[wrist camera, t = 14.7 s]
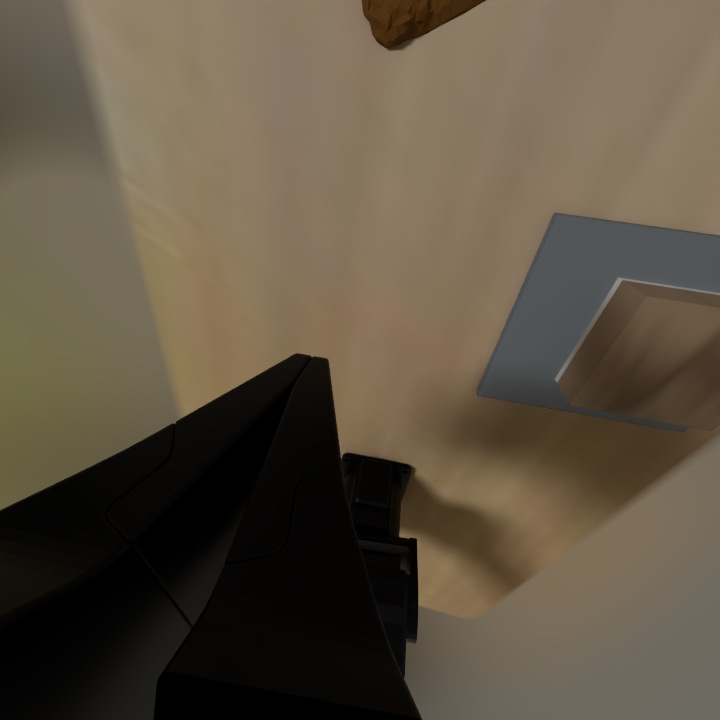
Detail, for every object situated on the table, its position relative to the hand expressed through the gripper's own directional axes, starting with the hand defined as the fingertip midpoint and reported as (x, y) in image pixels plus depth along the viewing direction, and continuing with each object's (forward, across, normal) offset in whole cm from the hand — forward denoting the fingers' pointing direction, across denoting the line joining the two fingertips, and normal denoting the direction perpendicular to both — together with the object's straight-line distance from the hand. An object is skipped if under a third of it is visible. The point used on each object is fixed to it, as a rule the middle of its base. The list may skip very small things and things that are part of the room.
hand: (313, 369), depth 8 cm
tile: (+10, -13, +3) cm, 17 cm away
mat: (+12, -16, +3) cm, 20 cm away
